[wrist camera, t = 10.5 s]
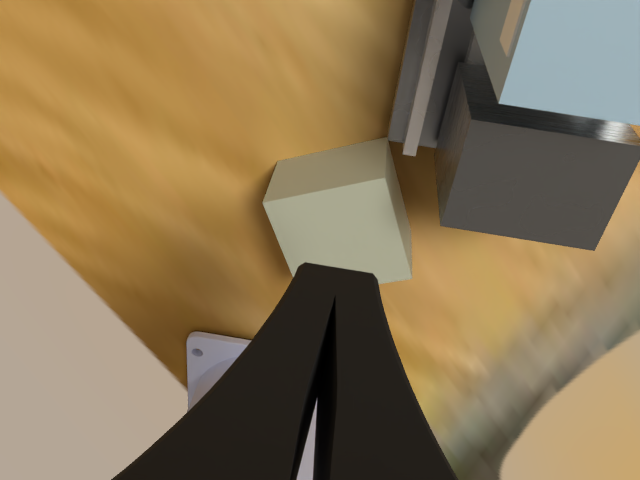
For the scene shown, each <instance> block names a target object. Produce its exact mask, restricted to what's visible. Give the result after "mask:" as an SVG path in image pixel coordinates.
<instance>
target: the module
mask: <svg viewBox="0 0 640 480" xmlns="http://www.w3.org/2000/svg"><path fill="white" fill-rule="evenodd" d="M470 20H471V23H472V26H473V29H474V32H475V35H476V38H477V41H478V44H479V47H480V50H481V53H482V56H483V59H484V62H485V65H486V68H487V71H488V74H489V77H490V80H491V83H492V86H493V89H494V92H495V94H496V97H497V100H498V103H499V104H505V105H511V106H518V107H524V108H530V109H537V110H543V111H550V112H556V113H562V114H569V115H575V116H582V117H588V118H595V119H601V120H607V121H614V122H620V123H627V124H633V125H639V126H640V0H474V3H473V7H472V11H471V15H470Z"/></svg>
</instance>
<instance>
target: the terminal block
mask: <svg viewBox="0 0 640 480" xmlns="http://www.w3.org/2000/svg"><path fill="white" fill-rule="evenodd" d="M262 203H263V206H264V208H265V210H266V213H267V215H268V218H269V220H270V223H271V225H272V227H273V230H274V232H275V235H276V237H277V240H278V242H279V245H280V247H281V249H282V252H283V254H284V257H285V259H286V262H287V264H288V266H289V269H290V271H291V274H292V276H293V277H294V275H295V273H296V271H297V268H298V266H300V265H301V264H303V263H305V262H307V263H313V264H319V265H325V266H331V267H337V268H344V269H350V270H356V271H362V272H368V273H373V274H374V275H375V277H376V278H377V279H378V284H382V283H389V282H395V281H401V280H408V279H412V243H411V228H410V224H409V220H408V217H407V213H406V209H405V205H404V201H403V197H402V193H401V189H400V185H399V181H398V177H397V174H396V170H395V166H394V162H393V158H392V154H391V150H390V146H389V142H388V141H387V137H384V138H379V139H375V140H370V141H366V142H361V143H357V144H352V145H348V146H343V147H339V148H334V149H330V150H325V151H321V152H316V153H312V154H307V155H303V156H298V157H294V158H290V159H285V160H281V161H278V162H277V165H276V167H275V170H274V173H273V175H272V178H271V181H270V184H269V186H268V189H267V192H266V194H265V197H264V200H263V202H262Z"/></svg>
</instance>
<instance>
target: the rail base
mask: <svg viewBox="0 0 640 480" xmlns="http://www.w3.org/2000/svg"><path fill="white" fill-rule="evenodd" d="M473 3H474V0H414V1H413V6H412V11H411V16H410V21H409V26H408V31H407V36H406V41H405V46H404V51H403V56H402V60H401V65H400V70H399V75H398V80H397V85H396V90H395V95H394V100H393V105H392V110H391V115H390V120H389V125H388V138H387V141H394V142H400V143H403V154H404V155H410V156H416V152H417V148H418V145H419V146H425V147H432V148H436V150H435V153H434V159H435V170H436V181H437V192H438V203H439V214H440V226H444V227H450V228H457V229H463V230H469V231H475V232H481V233H487V234H494V235H500V236H506V237H512V238H518V239H525V240H531V241H537V242H543V243H549V244H555V245H562V246H568V247H574V248H580V249H586V250H593V251H595V249H596V247H597V245H598V243H599V241H600V239H601V237H602V235H603V232H604V230H605V228H606V226H607V224H608V222H609V220H610V218H611V216H612V214H613V212H614V210H615V208H616V206H617V204H618V202H619V200H620V198H621V196H622V194H623V192H624V190H625V188H626V186H627V184H628V182H629V180H630V178H631V176H632V174H633V172H634V170H635V168H636V166H637V164H638V162H639V160H640V138H639V137H638V135H637V134H636V133H635V131H634V130H633V129H632V127H631V126H630V125H629V124H627V123H620V122H614V121H607V120H601V119H595V118H588V117H582V116H575V115H569V114H562V113H556V112H550V111H543V110H537V109H530V108H524V107H518V106H511V105H505V104H499V103H498V100H497V97H496V94H495V92H494V89H493V86H492V83H491V80H490V77H489V74H488V71H487V68H486V65H485V62H484V59H483V56H482V53H481V50H480V47H479V44H478V41H477V38H476V35H475V32H474V29H473V26H472V23H471V20H470V15H471V11H472V7H473Z"/></svg>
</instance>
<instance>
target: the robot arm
mask: <svg viewBox="0 0 640 480" xmlns="http://www.w3.org/2000/svg"><path fill="white" fill-rule="evenodd" d="M186 346H187V380H188V411H187V413H186V414H185V415H184V416H183V418H181V419H180V420H179V421H178V422H177V423H176V424H175V425H174V426H173V427H172V428H170V429H169V430H168V431H167V432H166V433H165V434H164V435H163V436H162V437H161V438H160V439H159V440H157V441H156V442H155V443H154V444H153V445H152V446H151V447H150V448H149V449H147V450H146V451H145V452H144V453H143V454H142V455H141V456H139V457H138V458H137V459H136V460H135V461H134V462H132V463H131V464H130V465H129V466H128V467H126V469H124V470H123V471H122V472H120V473H119V474H118V475H117V476H115V477H114V478H113V479H111V480H458V478H457V477H456V475H455V473H454V472H453V470H452V468H451V466H450V464H449V463H448V461H447V459H446V457H445V455H444V453H443V452H442V450H441V448H440V446H439V444H438V442H437V440H436V438H435V436H434V434H433V432H432V431H431V429H430V426H429V424H428V422H427V420H426V418H425V416H424V414H423V412H422V410H421V407H420V405H419V403H418V401H417V399H416V396H415V394H414V392H413V390H412V387H411V385H410V383H409V380H408V378H407V375H406V373H405V370H404V368H403V365H402V362H401V360H400V357H399V354H398V352H397V349H396V346H395V344H394V341H393V338H392V335H391V332H390V329H389V325H388V322H387V319H386V315H385V312H384V308H383V304H382V300H381V296H380V291H379V285H378V279H377V278H376V277H375V275H374V274H373V273H368V272H362V271H356V270H350V269H344V268H337V267H331V266H325V265H319V264H313V263H307V262H305V263H303V264H301V265H300V266H298V268H297V271H296V273H295V275H294V277H293V279H292V281H291V283H290V285H289V287H288V288H287V290H286V292H285V293H284V295H283V297H282V298H281V300H280V301H279V303H278V304H277V306H276V307H275V309H274V311H273V312H272V313H271V315H270V316H269V317H268V319H267V320H266V322H265V323H264V324H263V326H262V327H261V328H260V330H259V331H258V333H257V334H256V335H255V337H254V338H253V339H252V340H246V339H240V338H234V337H228V336H222V335H217V334H211V333H205V332H192V333H190V334H189V336H188V339H187V342H186ZM197 349H200V350H197Z"/></svg>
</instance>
